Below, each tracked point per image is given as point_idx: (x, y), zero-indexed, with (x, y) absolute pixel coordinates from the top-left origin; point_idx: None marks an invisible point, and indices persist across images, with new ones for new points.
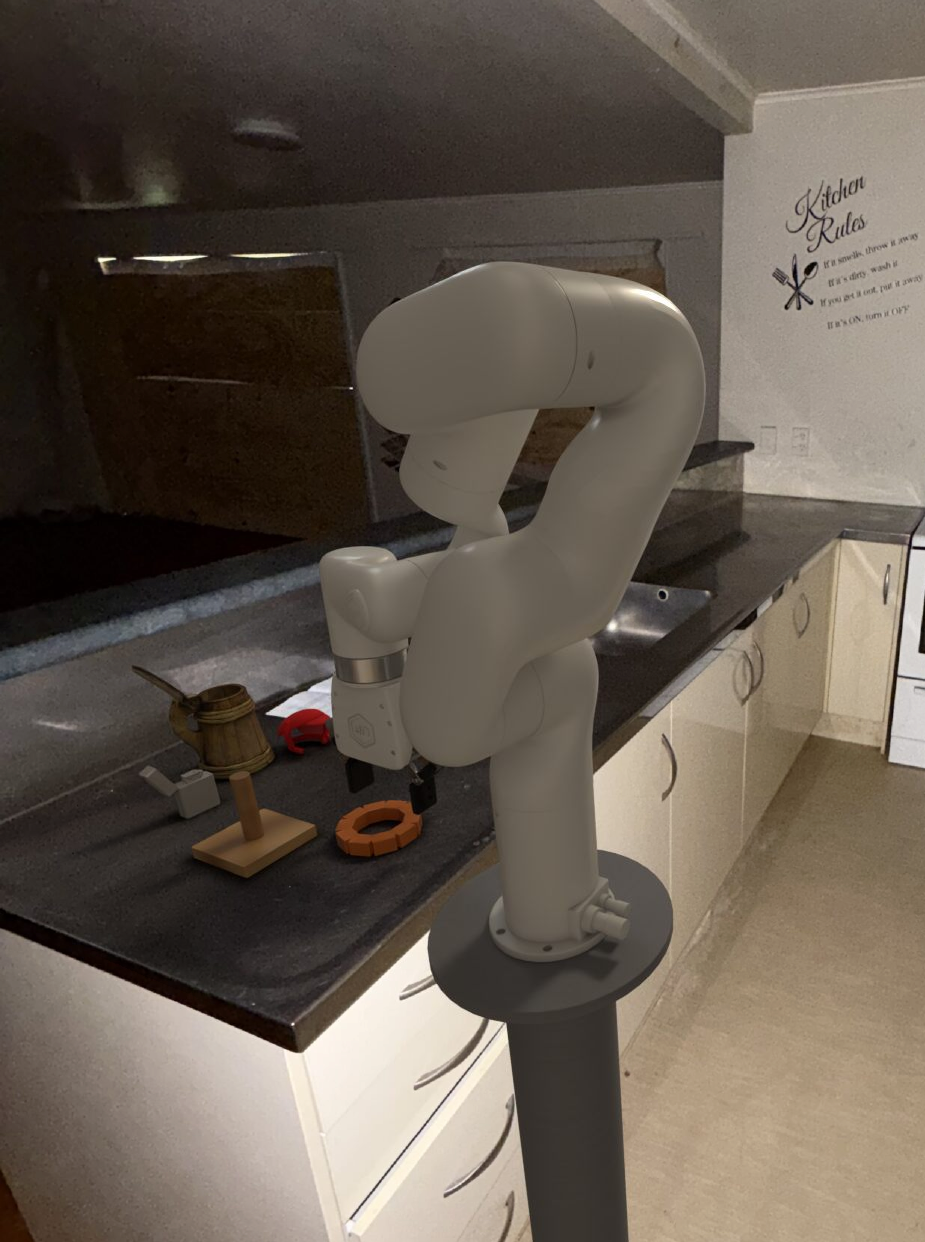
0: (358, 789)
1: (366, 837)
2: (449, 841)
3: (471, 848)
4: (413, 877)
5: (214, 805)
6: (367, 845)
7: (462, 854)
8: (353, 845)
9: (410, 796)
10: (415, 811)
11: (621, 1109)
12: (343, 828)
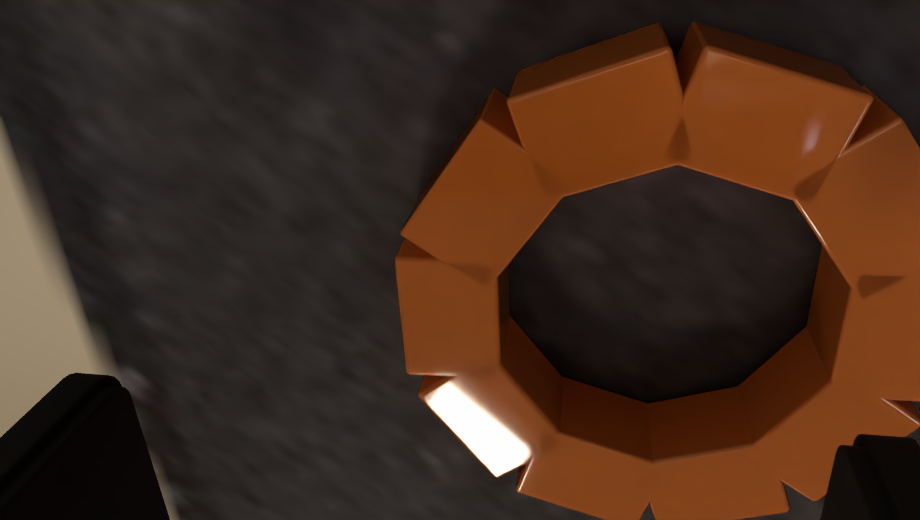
0: (836, 490)
1: (576, 150)
2: (249, 350)
3: (112, 342)
4: (116, 32)
5: None
6: (510, 92)
7: (101, 291)
8: (620, 53)
9: (14, 499)
10: (62, 389)
11: None
12: (849, 166)
